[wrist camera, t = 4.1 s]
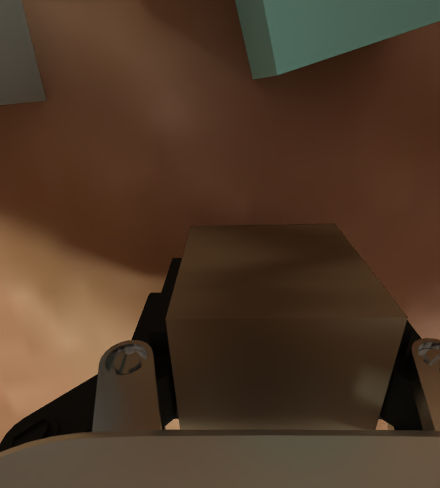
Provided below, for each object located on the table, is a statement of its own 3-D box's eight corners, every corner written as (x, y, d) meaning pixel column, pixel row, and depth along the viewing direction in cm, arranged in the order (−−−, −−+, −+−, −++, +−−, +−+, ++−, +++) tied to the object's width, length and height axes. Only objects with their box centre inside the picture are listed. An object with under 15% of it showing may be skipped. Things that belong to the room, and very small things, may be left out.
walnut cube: (334, 223, 11) (407, 317, 7) (319, 335, 13) (365, 462, 9) (190, 226, 11) (165, 318, 7) (199, 335, 13) (184, 461, 9)
